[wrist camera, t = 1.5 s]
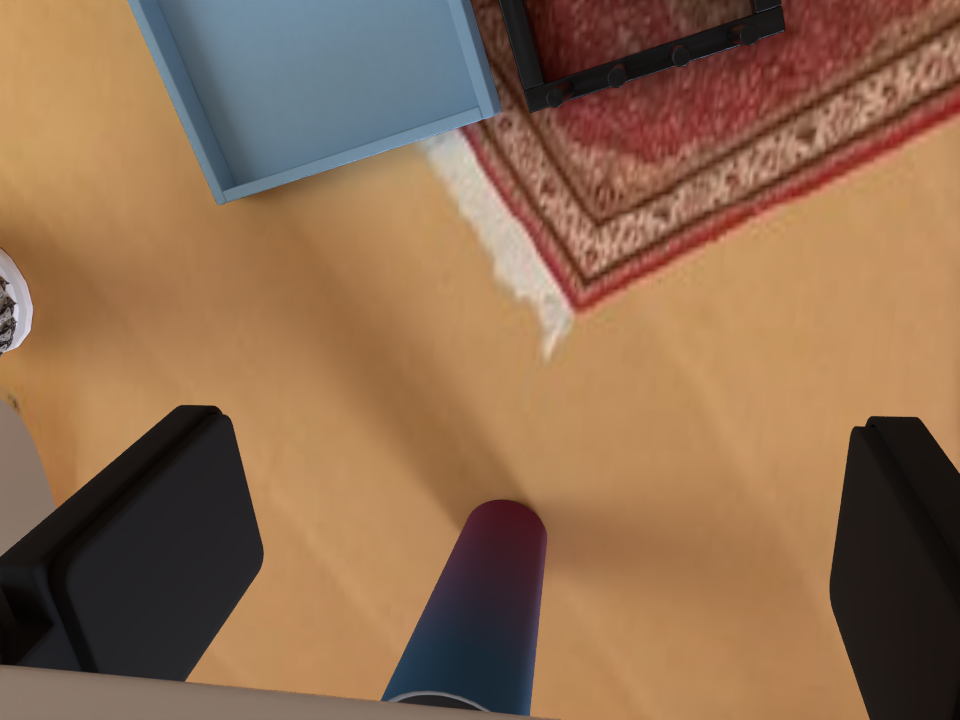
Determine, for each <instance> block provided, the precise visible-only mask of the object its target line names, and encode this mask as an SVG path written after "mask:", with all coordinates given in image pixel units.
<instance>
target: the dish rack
mask: <svg viewBox="0 0 960 720" xmlns="http://www.w3.org/2000/svg"><path fill="white" fill-rule="evenodd" d="M498 1H499V4H500V8H501V11H502V15H503V19H504V22H505V26H506V29H507V33H508V36H509V40H510V44H511V47H512V51H513V54H514V58H515V61H516V65H517V69H518V72H519V76H520V79H521V83H522V86H523V89H524V90H525V91H524V94H525V97H526V101H527V104H528V108H529V112H530V113H532V112H535V111H538V110H542V109H545V108H548V107H555V108H556V107H559V106H561V105H562V104H563V103H564V102H566V101H570V100H573V99H576V98H579V97H582V96H585V95H588V94H591V93H594V92H598V91H601V90H604V89H607V88H610V87H613V88H619V87H621V86H623V85H624V83H626V82H629V81H632V80H635V79H638V78H641V77H644V76H647V75H651V74H654V73H657V72H660V71H663V70H666V69H669V68H672V67H675V66H677V67H684V66H686V65H687V64H688V63H689V62H691V61H694V60H697V59H700V58H703V57H707V56H710V55H713V54H716V53H719V52H722V51H725V50H728V49H731V48H735V47H738V46H741V45H747V46H750V45H753V44H755V43H756V42H757V41H758V40H759V39H763V38H766V37H769V36H772V35H775V34H778V33H781V32H784V31H785V23H784V17H783V10H782V6H780V5H781V0H750V2H751V8H752V13H753V14H752V15H749V16H746V17H743V18H740V19H737V20H734V21H731V22H728V23H725V24H722V25H719V26H716V27H713V28H710V29H707V30H704V31H701V32H698V33H695V34H692V35H689V36H686V37H683V38H680V39H677V40H674V41H671V42H668V43H665V44H662V45H659V46H656V47H653V48H650V49H647V50H644V51H641V52H638V53H635V54H632V55H629V56H626V57H623V58H620V59H617V60H614V61H611V62H608V63H604V64H601V65H598V66H595V67H592V68H589V69H586V70H583V71H580V72H577V73H574V74H571V75H568V76H565V77H562V78H559V79H556V80H553V81H550V82H547V77H546V74H545V70H544V66H543V62H542V59H541V55H540V51H539V48H538V44H537V40H536V36H535V33H534V29H533V25H532V21H531V18H530V14H529V10H528V7H527V3H526V0H498Z"/></svg>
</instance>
